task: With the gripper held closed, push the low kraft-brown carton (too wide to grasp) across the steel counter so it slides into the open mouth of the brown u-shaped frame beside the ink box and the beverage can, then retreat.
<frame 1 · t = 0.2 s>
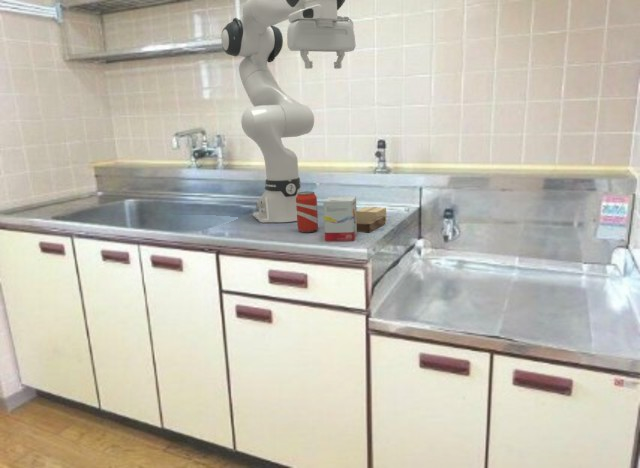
hand: (323, 68, 139), 47 cm above the worktop, fingers open, 8 cm apart
ink box: (341, 238, 145), on the worktop
beverage can: (308, 231, 156), on the worktop
brown u-shaped frame: (361, 226, 157), on the worktop
carton: (371, 223, 163), on the worktop
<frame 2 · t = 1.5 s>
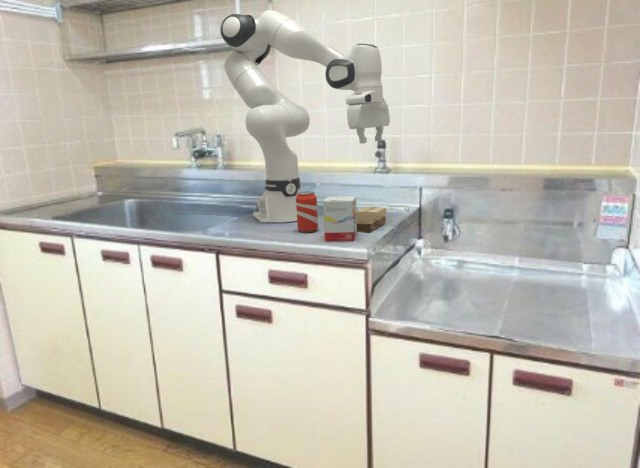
hand: (371, 142, 160), 26 cm above the worktop, fingers open, 8 cm apart
nothing on the worktop moved.
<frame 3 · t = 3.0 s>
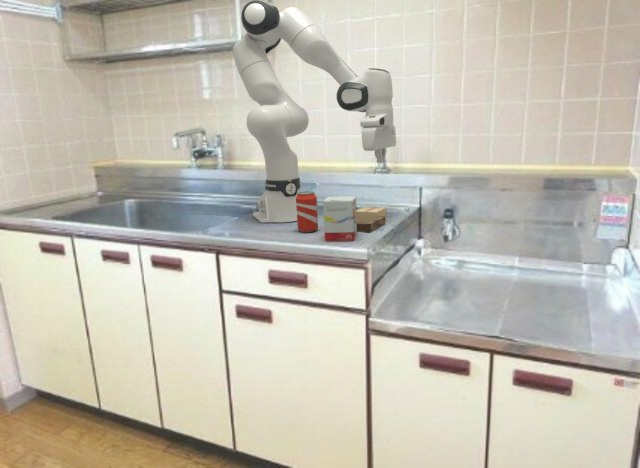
hand: (380, 162, 166), 18 cm above the worktop, fingers closed
nothing on the worktop moved.
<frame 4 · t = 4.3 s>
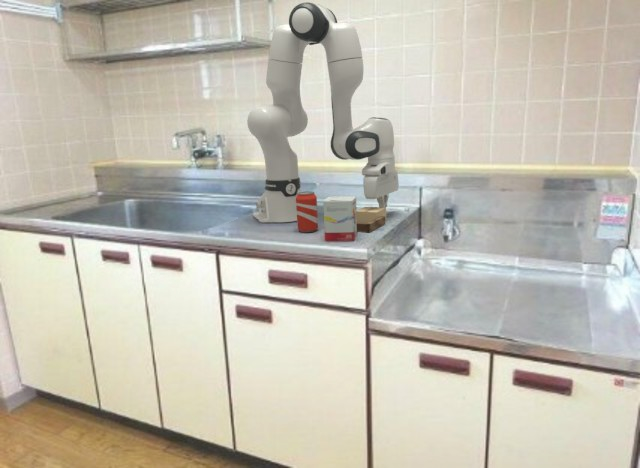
hand: (383, 208, 169), 3 cm above the worktop, fingers closed
nothing on the worktop moved.
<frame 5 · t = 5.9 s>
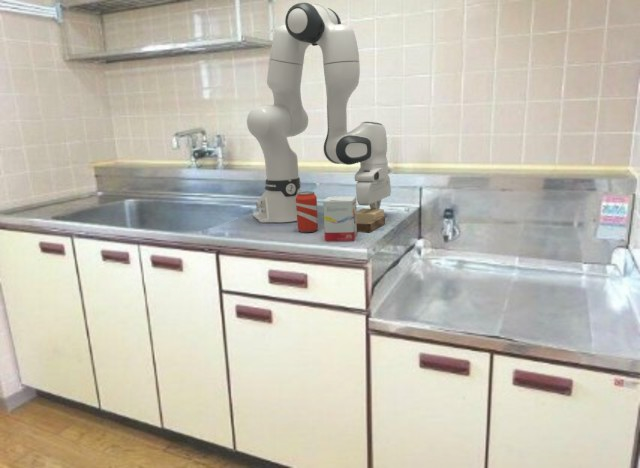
hand: (375, 214, 166), 2 cm above the worktop, fingers closed
carton: (368, 224, 161), on the worktop
everything else where it was.
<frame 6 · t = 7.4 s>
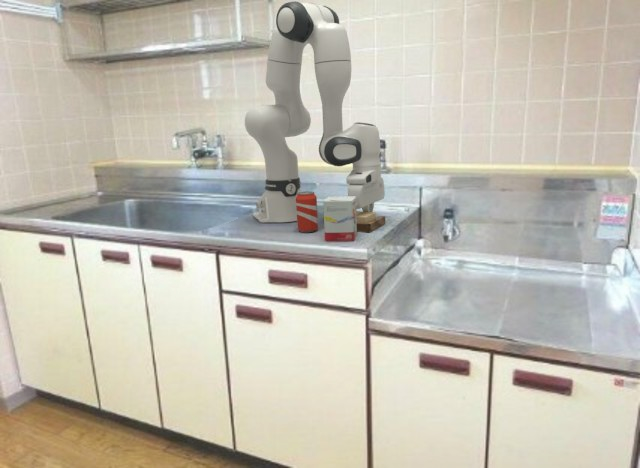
hand: (368, 217, 161), 2 cm above the worktop, fingers closed
carton: (360, 228, 157), on the worktop
everything else where it was.
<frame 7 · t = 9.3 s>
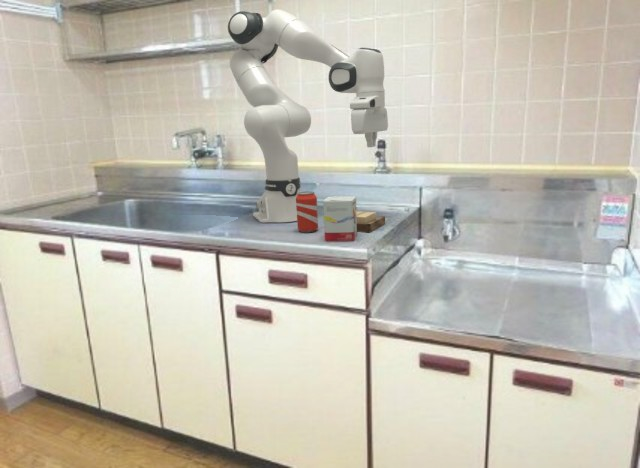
hand: (371, 147, 159), 24 cm above the worktop, fingers closed
nothing on the worktop moved.
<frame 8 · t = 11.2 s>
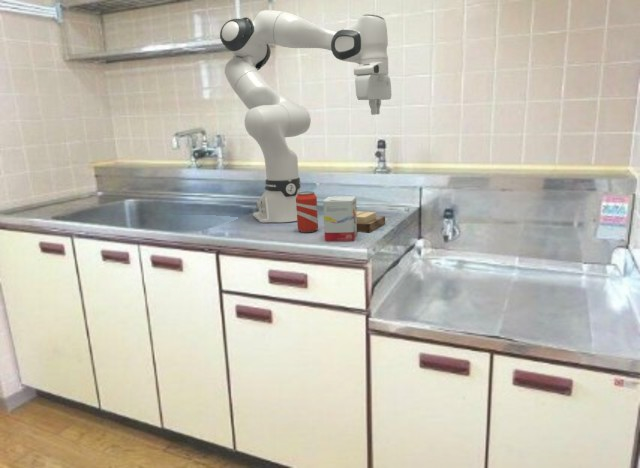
hand: (375, 114, 161), 34 cm above the worktop, fingers closed
nothing on the worktop moved.
at the end: carton 0.9 cm from the brown u-shaped frame (horizontally); carton tilted 0°; carton touching worktop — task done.
